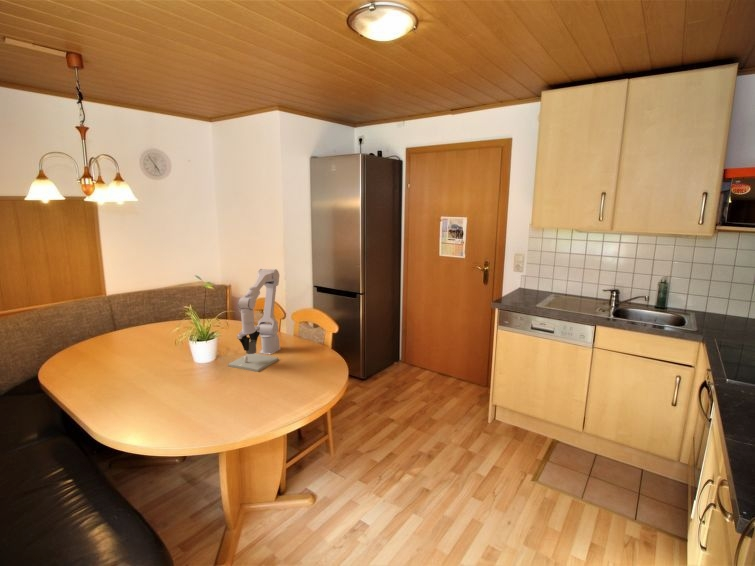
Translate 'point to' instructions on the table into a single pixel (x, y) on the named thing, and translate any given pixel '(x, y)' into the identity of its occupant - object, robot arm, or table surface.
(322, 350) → the table surface
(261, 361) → the grey square plate
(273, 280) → the robot arm
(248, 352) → the knob
